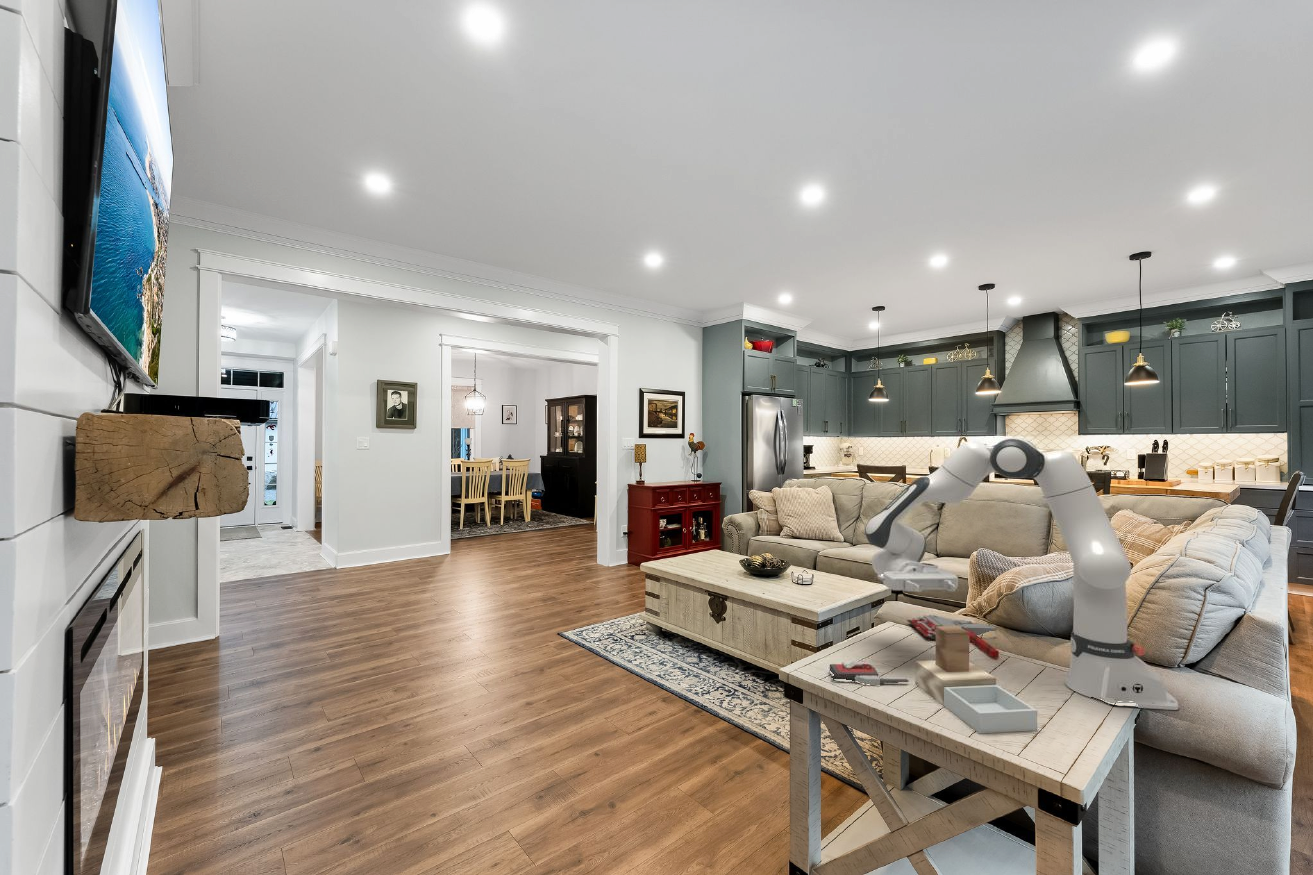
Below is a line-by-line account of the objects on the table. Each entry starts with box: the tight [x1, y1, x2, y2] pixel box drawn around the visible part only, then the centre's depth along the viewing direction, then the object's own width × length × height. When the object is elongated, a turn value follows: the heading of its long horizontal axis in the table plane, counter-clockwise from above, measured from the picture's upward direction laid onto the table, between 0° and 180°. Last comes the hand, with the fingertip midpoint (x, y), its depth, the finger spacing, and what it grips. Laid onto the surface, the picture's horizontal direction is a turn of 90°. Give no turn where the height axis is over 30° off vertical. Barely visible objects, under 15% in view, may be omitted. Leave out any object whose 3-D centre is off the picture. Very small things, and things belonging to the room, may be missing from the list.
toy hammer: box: [906, 614, 1000, 659], centre depth 184 cm, size 24×4×30 cm
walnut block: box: [934, 626, 971, 672], centre depth 148 cm, size 5×6×10 cm
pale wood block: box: [914, 660, 997, 706], centre depth 147 cm, size 12×14×6 cm
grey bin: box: [943, 684, 1038, 734], centre depth 134 cm, size 13×14×4 cm
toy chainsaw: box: [829, 660, 909, 686], centre depth 155 cm, size 9×4×20 cm
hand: (936, 588), depth 155 cm, fingers open, 8 cm apart
